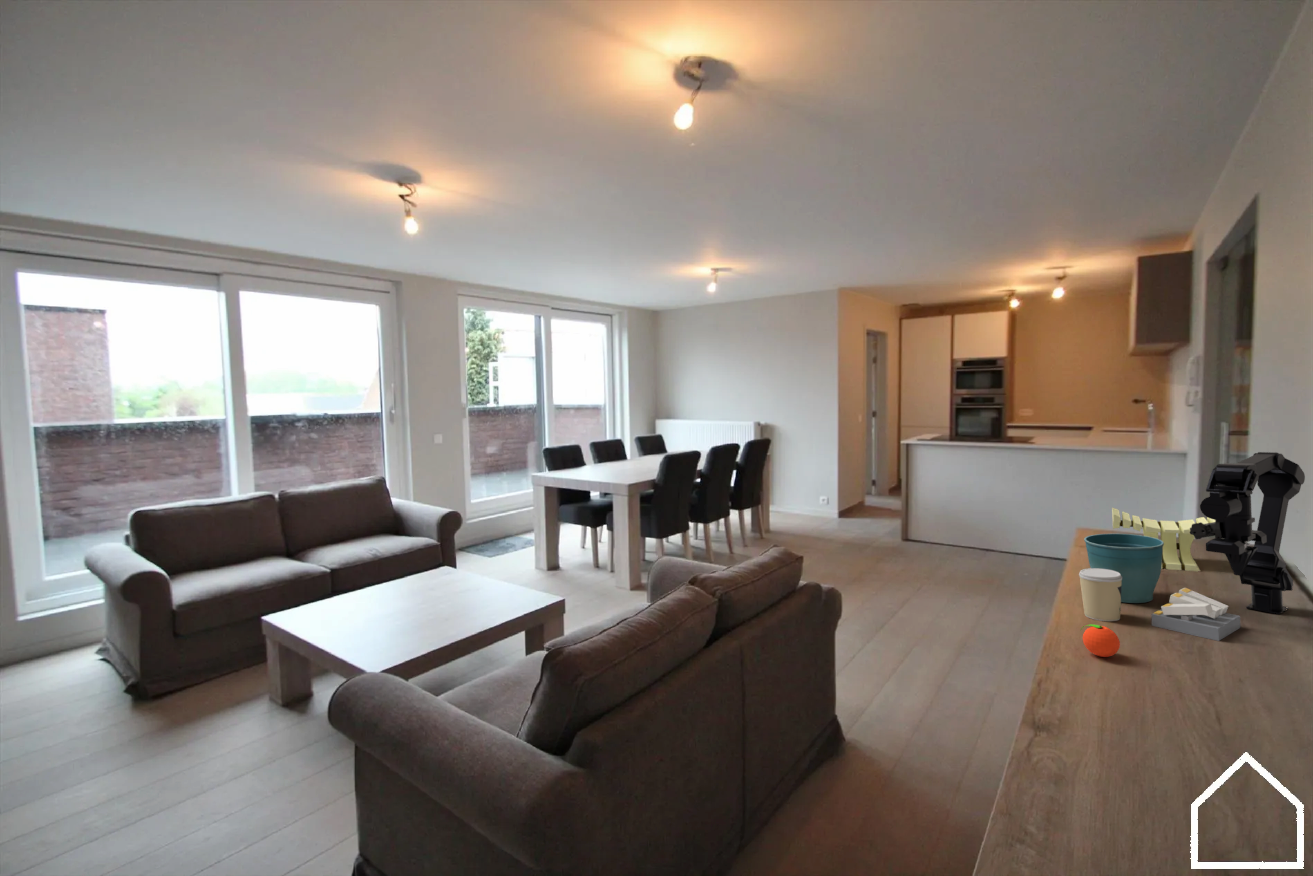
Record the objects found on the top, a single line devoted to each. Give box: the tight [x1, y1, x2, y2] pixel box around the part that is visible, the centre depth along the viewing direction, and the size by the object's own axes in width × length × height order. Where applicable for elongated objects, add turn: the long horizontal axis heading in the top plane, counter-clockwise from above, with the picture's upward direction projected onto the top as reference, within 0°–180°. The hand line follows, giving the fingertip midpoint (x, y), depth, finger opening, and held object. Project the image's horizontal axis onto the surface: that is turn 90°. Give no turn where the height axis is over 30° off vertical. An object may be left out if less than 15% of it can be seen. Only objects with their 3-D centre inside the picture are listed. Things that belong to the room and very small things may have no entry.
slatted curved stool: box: [1111, 507, 1215, 572], centre depth 199 cm, size 30×16×18 cm, turn 54°
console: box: [1150, 603, 1241, 642], centre depth 148 cm, size 13×13×4 cm
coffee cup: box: [1078, 567, 1122, 622], centre depth 159 cm, size 9×9×12 cm
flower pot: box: [1083, 533, 1164, 604], centre depth 171 cm, size 18×18×17 cm
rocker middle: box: [1168, 592, 1221, 618], centre depth 148 cm, size 3×9×2 cm, turn 29°
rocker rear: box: [1178, 587, 1229, 616], centre depth 150 cm, size 3×9×2 cm, turn 29°
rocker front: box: [1160, 603, 1213, 615], centre depth 146 cm, size 3×9×2 cm, turn 29°
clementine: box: [1080, 623, 1121, 658], centre depth 137 cm, size 8×7×7 cm
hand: (1237, 575), depth 149 cm, fingers closed
